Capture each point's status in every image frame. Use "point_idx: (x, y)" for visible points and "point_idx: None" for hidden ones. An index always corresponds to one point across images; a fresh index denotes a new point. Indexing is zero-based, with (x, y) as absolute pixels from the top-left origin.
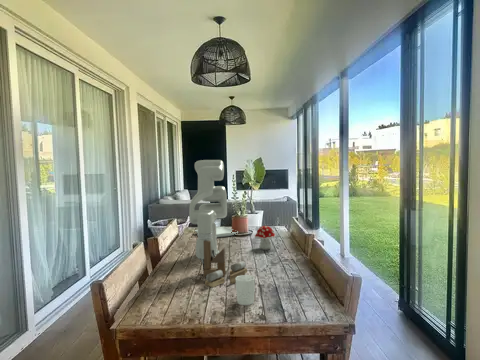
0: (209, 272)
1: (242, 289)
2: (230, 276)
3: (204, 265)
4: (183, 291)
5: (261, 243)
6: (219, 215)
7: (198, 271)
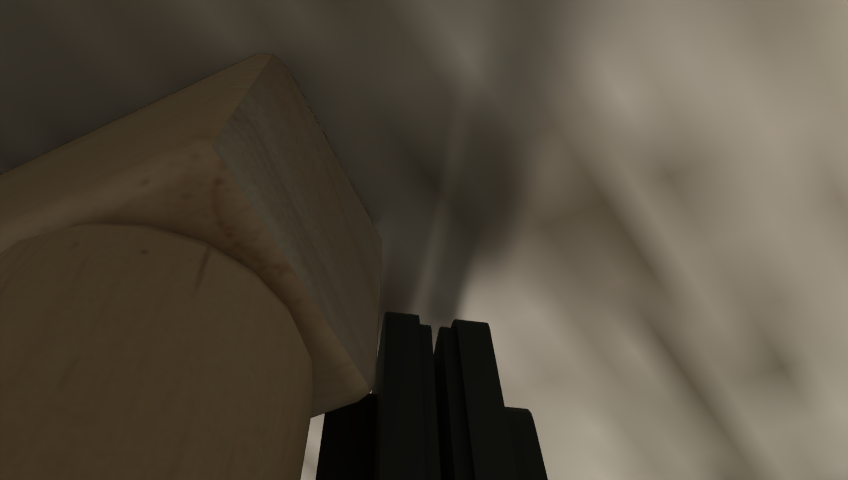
0: (11, 200)
1: None
2: None
3: (131, 363)
4: None
5: None
6: None
7: (720, 371)
